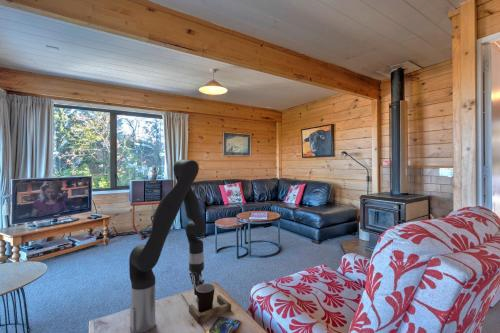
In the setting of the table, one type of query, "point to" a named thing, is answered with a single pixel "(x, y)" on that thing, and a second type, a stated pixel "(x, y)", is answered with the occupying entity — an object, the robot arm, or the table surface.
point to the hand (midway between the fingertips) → (196, 294)
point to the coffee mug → (205, 297)
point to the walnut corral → (211, 310)
